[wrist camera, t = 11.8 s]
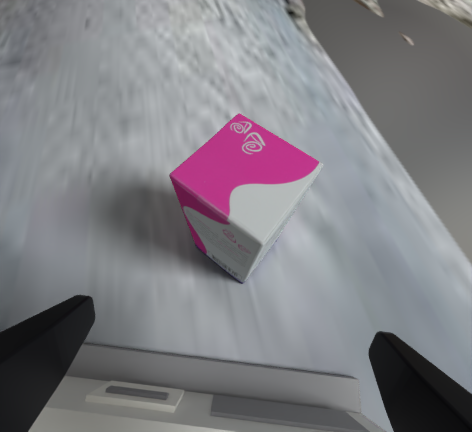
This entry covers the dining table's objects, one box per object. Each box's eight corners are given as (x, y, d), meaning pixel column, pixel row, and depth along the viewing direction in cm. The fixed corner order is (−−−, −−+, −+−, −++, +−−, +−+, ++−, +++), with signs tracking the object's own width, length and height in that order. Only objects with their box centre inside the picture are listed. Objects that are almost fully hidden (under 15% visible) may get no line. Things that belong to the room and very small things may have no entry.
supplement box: (280, 235, 22) (329, 163, 12) (242, 285, 20) (260, 254, 10) (233, 200, 23) (238, 107, 13) (193, 245, 21) (161, 177, 11)
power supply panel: (361, 483, 15) (436, 577, 10) (-81, 426, 16) (-247, 487, 10) (353, 377, 18) (410, 405, 12) (-31, 328, 18) (-143, 334, 12)
